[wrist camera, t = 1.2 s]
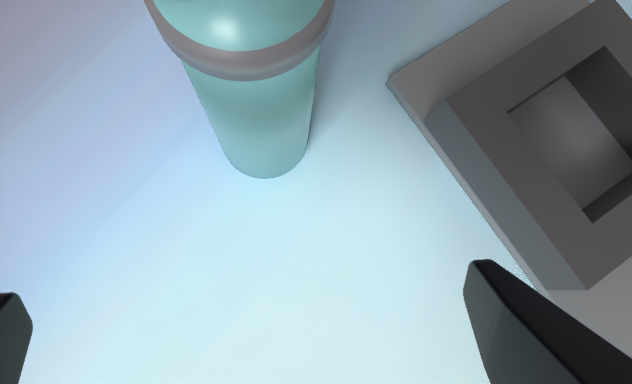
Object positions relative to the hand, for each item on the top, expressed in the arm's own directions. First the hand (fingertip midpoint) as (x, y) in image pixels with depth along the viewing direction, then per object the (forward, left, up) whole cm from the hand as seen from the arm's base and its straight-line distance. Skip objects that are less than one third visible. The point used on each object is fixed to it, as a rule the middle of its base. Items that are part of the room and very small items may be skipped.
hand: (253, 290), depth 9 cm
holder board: (-6, -17, -13) cm, 22 cm away
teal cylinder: (+7, -4, -13) cm, 15 cm away
